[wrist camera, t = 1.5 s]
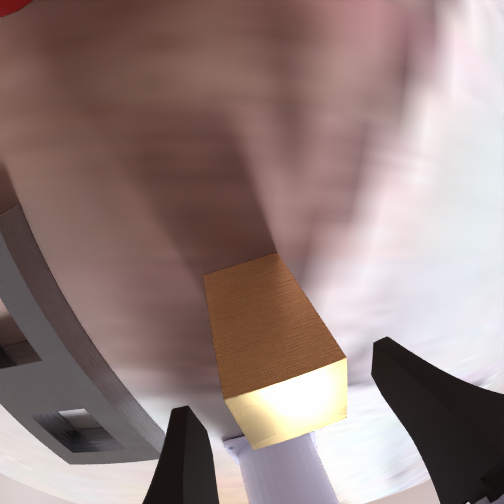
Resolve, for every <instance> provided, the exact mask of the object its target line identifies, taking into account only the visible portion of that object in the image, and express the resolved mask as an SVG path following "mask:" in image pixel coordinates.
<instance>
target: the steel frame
mask: <svg viewBox="0 0 504 504" xmlns="http://www.w3.org/2000/svg"><path fill="white" fill-rule="evenodd" d="M0 298H1V300H2V301H3V303H4V305H5V306H6V308H7V310H8V311H9V313H10V315H11V316H12V318H13V319H14V321H15V322H16V324H17V325H18V327H19V328H20V330H21V331H22V333H23V334H24V336H25V337H26V339H27V341H24V342H20V343H16V344H12V345H8V346H5V347H2V346H1V345H0V404H1V405H2V406H3V407H4V408H5V409H6V410H7V411H8V412H9V413H10V414H11V415H12V416H13V417H14V418H15V419H16V420H17V421H18V422H19V423H20V424H21V425H23V426H24V427H25V428H26V429H27V430H28V431H29V432H30V433H31V434H32V435H34V436H35V437H36V438H37V439H38V440H39V441H41V442H42V443H43V444H44V445H45V446H47V447H48V448H49V449H50V450H52V451H53V452H54V453H55V454H57V455H58V456H59V457H61V458H62V459H63V460H65V461H66V462H67V463H69V464H111V463H126V462H137V461H147V460H155V459H159V458H160V454H161V451H162V448H163V444H164V440H165V433H164V432H163V431H162V430H161V429H160V428H159V427H158V426H157V424H156V423H155V422H154V421H153V420H152V419H151V418H150V417H149V415H148V414H147V413H146V412H145V411H144V410H143V409H142V407H141V406H140V405H139V404H138V403H137V402H136V400H135V399H134V398H133V397H132V395H131V394H130V393H129V392H128V391H127V389H126V388H125V387H124V386H123V384H122V383H121V382H120V380H119V379H118V378H117V376H116V375H115V374H114V373H113V371H112V370H111V368H110V367H109V366H108V364H107V363H106V362H105V360H104V359H103V357H102V356H101V355H100V353H99V352H98V350H97V349H96V347H95V346H94V345H93V343H92V342H91V340H90V339H89V337H88V336H87V334H86V333H85V331H84V329H83V328H82V326H81V325H80V323H79V322H78V320H77V318H76V317H75V315H74V313H73V312H72V310H71V308H70V307H69V305H68V303H67V302H66V300H65V298H64V296H63V295H62V293H61V291H60V289H59V287H58V286H57V284H56V282H55V280H54V278H53V276H52V274H51V272H50V271H49V269H48V267H47V265H46V263H45V261H44V259H43V257H42V254H41V252H40V250H39V248H38V246H37V244H36V242H35V239H34V237H33V235H32V233H31V230H30V228H29V226H28V223H27V221H26V219H25V216H24V214H23V211H22V209H21V206H20V204H18V205H16V206H14V207H12V208H11V209H9V210H7V211H5V212H4V213H2V214H0ZM83 408H84V409H85V410H86V411H87V412H88V413H89V414H90V415H91V416H92V417H93V418H94V419H95V420H96V421H97V422H98V423H99V424H100V425H101V426H102V427H101V428H92V429H80V430H76V429H75V428H74V427H73V426H71V425H70V424H69V423H68V422H67V421H66V420H65V419H64V418H63V417H62V416H61V415H60V414H59V413H58V412H57V411H66V410H75V409H83Z"/></svg>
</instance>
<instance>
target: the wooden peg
mask: <svg viewBox="0 0 504 504" xmlns="http://www.w3.org/2000/svg"><path fill="white" fill-rule="evenodd" d="M203 277H204V284H205V291H206V298H207V305H208V311H209V318H210V324H211V330H212V336H213V342H214V348H215V354H216V360H217V366H218V371H219V377H220V382H221V387H222V393H223V398H224V401H225V403H226V405H227V406H228V408H229V410H230V412H231V413H232V415H233V417H234V418H235V420H236V422H237V424H238V425H239V427H240V429H241V430H242V432H243V434H244V435H245V437H246V439H247V440H248V442H249V444H250V445H251V447H252V448H253V450H256V449H259V448H263V447H266V446H270V445H273V444H276V443H280V442H283V441H286V440H289V439H292V438H295V437H298V436H301V435H304V434H306V433H309V432H312V431H315V430H317V429H320V428H322V427H325V426H328V425H330V424H333V423H335V422H337V421H340V420H342V419H345V418H347V358H346V356H345V354H344V353H343V351H342V350H341V348H340V347H339V345H338V344H337V342H336V341H335V339H334V337H333V336H332V334H331V333H330V331H329V330H328V328H327V327H326V325H325V324H324V322H323V321H322V319H321V318H320V316H319V315H318V313H317V312H316V310H315V309H314V307H313V306H312V304H311V303H310V301H309V299H308V298H307V296H306V295H305V293H304V292H303V290H302V289H301V287H300V286H299V284H298V283H297V281H296V280H295V278H294V277H293V276H292V274H291V273H290V271H289V270H288V268H287V267H286V265H285V264H284V262H283V261H282V259H281V258H280V256H279V255H278V253H274V254H270V255H267V256H264V257H261V258H258V259H254V260H251V261H248V262H245V263H242V264H238V265H235V266H232V267H229V268H226V269H222V270H219V271H216V272H213V273H210V274H206V275H203Z"/></svg>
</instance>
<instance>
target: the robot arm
mask: <svg viewBox="0 0 504 504" xmlns="http://www.w3.org/2000/svg"><path fill="white" fill-rule="evenodd" d="M371 375H372V377H373V379H374V381H375V383H376V385H377V387H378V389H379V391H380V392H381V394H382V396H383V397H384V399H385V400H386V402H387V403H388V405H389V406H390V407H391V409H392V410H393V412H394V413H395V415H396V416H397V417H398V419H399V420H400V422H401V423H402V424H403V426H404V427H405V429H406V430H407V432H408V433H409V435H410V436H411V438H412V440H413V441H414V443H415V445H416V447H417V449H418V451H419V453H420V455H421V457H422V459H423V461H424V463H425V465H426V468H427V470H428V472H429V474H430V477H431V479H432V482H433V484H434V486H435V489H436V492H437V495H438V498H439V501H440V504H466V503H467V502H469V503H470V504H504V394H501V393H497V392H493V391H490V390H486V389H483V388H480V387H478V386H475V385H472V384H470V383H467V382H465V381H463V380H461V379H458V378H456V377H454V376H452V375H450V374H448V373H446V372H444V371H442V370H441V369H439V368H437V367H435V366H433V365H432V364H430V363H428V362H427V361H425V360H423V359H422V358H420V357H418V356H417V355H415V354H414V353H412V352H410V351H409V350H407V349H406V348H404V347H403V346H401V345H400V344H398V343H397V342H395V341H394V340H392V339H391V338H389V337H385V338H382V339H380V340H378V341H376V342H374V343H373V359H372V371H371ZM223 444H224V447H225V449H226V450H227V451H228V452H229V454H230V455H231V456H232V457H233V459H234V460H235V461H236V462H237V464H238V465H239V466H240V469H241V473H242V477H243V481H244V485H245V489H246V493H247V497H248V501H249V504H339V502H338V499H337V497H336V495H335V492H334V490H333V488H332V485H331V483H330V481H329V478H328V476H327V474H326V471H325V469H324V467H323V464H322V462H321V460H320V457H319V455H318V451H317V445H316V439H315V433H314V431H312V432H309V433H306V434H304V435H301V436H298V437H295V438H292V439H289V440H286V441H283V442H280V443H276V444H273V445H270V446H266V447H263V448H259V449H256V450H253V448H252V447H251V445H250V444H249V442H248V440H247V439H246V437H245V436H242V437H239V438H235V439H231V440H227V441H225V442H224V443H223ZM142 504H219V499H218V492H217V484H216V476H215V469H214V461H213V453H212V449H211V445H210V441H209V437H208V433H207V430H206V429H205V428H204V426H203V425H202V424H201V422H200V421H199V420H198V418H197V417H196V416H195V414H194V413H193V411H192V410H191V409H190V407H189V406H183V407H179V408H174V409H172V411H171V415H170V420H169V424H168V428H167V432H166V436H165V440H164V444H163V448H162V451H161V454H160V458H159V461H158V464H157V467H156V470H155V473H154V476H153V479H152V482H151V484H150V487H149V489H148V492H147V494H146V497H145V499H144V501H143V503H142Z"/></svg>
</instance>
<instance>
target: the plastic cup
mask: <svg viewBox="0 0 504 504" xmlns="http://www.w3.org/2000/svg"><path fill="white" fill-rule="evenodd" d="M31 1H33V0H0V17H3V16H6V15H8V14H11V13H13V12H16V11H18V10H20V9H21V8H23V7H24V6H25V5H27V4H28V3H30V2H31Z"/></svg>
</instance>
